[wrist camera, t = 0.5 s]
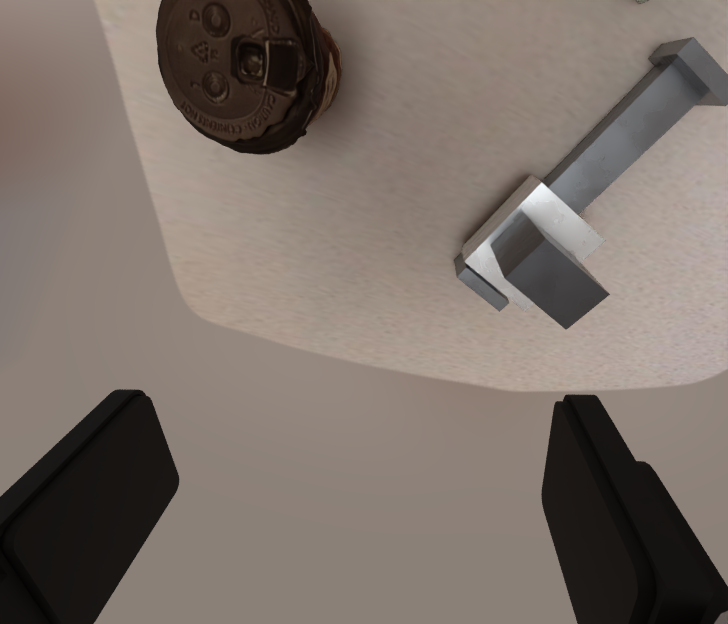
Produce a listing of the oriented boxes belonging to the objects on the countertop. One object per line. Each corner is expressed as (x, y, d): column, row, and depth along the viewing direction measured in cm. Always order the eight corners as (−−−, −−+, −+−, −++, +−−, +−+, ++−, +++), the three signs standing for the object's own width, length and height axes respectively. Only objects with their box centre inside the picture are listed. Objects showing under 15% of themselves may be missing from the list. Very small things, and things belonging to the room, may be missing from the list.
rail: (662, 43, 27) (693, 37, 24) (706, 91, 28) (742, 90, 25) (454, 260, 35) (456, 277, 32) (492, 292, 36) (499, 311, 33)
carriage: (528, 172, 31) (569, 203, 22) (586, 225, 32) (647, 274, 23) (460, 244, 34) (472, 297, 25) (515, 290, 35) (545, 355, 26)
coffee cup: (385, 80, 30) (360, 72, 18) (303, 161, 33) (238, 196, 22) (298, -35, 28) (208, -126, 16) (219, 64, 31) (98, 47, 19)
